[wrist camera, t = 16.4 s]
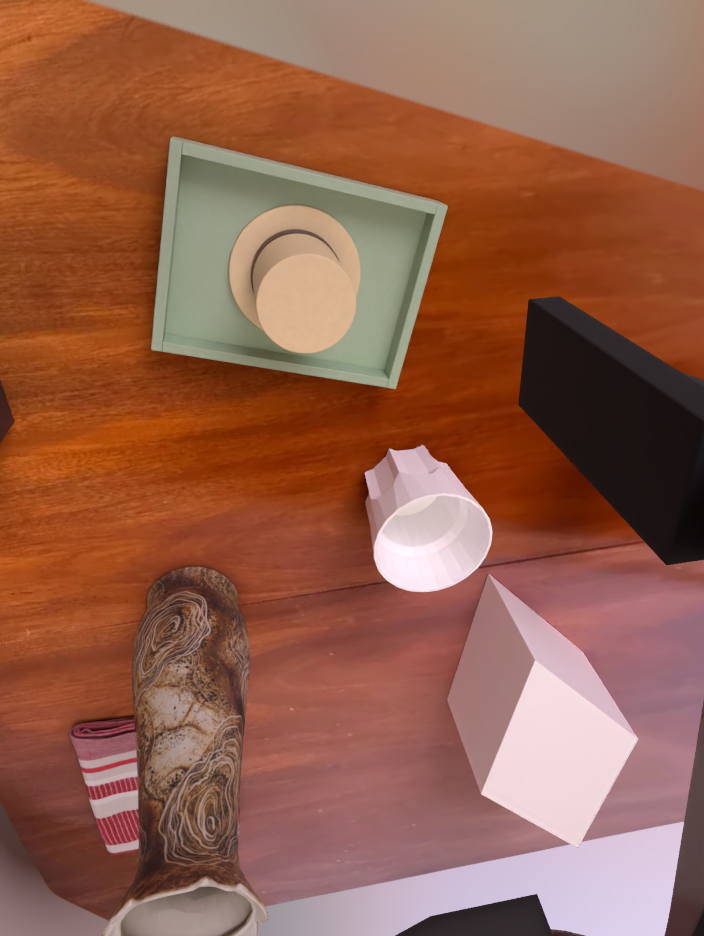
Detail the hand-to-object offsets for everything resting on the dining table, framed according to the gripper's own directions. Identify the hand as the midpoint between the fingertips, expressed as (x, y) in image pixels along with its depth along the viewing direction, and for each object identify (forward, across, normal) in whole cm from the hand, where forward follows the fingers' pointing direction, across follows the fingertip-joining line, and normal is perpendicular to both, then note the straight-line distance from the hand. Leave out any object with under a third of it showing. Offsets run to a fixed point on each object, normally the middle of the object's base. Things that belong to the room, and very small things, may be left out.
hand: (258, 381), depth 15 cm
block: (+37, +26, -57) cm, 73 cm away
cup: (+37, +12, -27) cm, 47 cm away
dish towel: (+37, -17, -64) cm, 76 cm away
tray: (+37, +3, -6) cm, 37 cm away
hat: (+36, +4, -6) cm, 37 cm away
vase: (+37, -9, -38) cm, 54 cm away
